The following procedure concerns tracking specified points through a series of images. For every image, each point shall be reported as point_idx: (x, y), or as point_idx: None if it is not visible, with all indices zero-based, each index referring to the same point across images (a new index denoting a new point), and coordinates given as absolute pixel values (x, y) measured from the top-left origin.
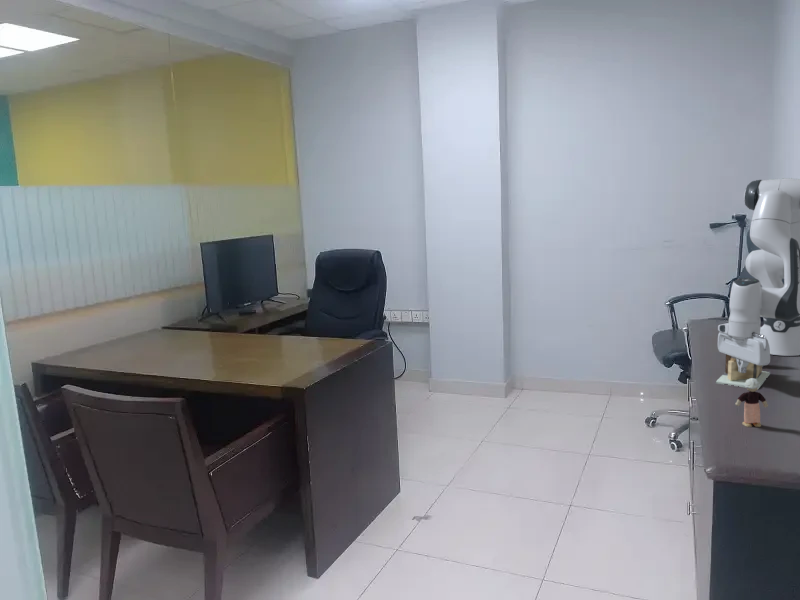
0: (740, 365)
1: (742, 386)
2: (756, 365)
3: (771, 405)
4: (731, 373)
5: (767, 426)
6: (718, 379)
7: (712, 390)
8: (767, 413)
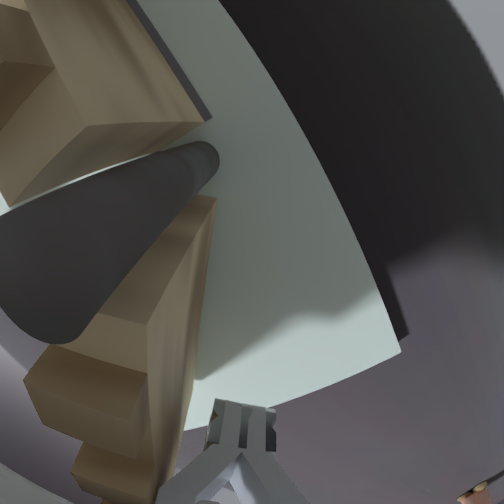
0: (241, 498)
1: (305, 386)
2: (181, 182)
3: (496, 421)
4: (183, 429)
5: (496, 474)
6: None
7: None
8: (492, 453)
